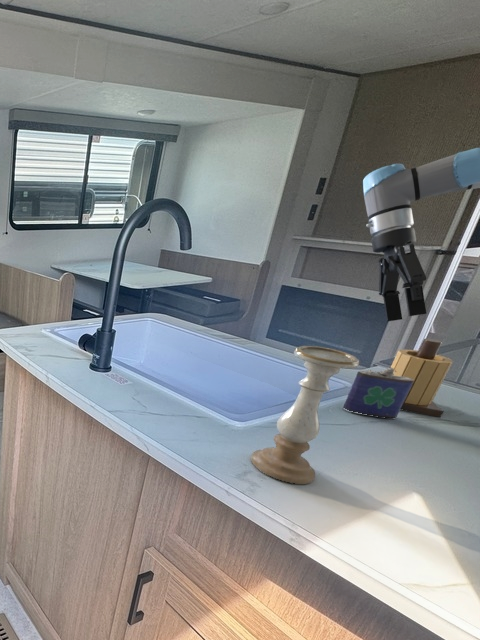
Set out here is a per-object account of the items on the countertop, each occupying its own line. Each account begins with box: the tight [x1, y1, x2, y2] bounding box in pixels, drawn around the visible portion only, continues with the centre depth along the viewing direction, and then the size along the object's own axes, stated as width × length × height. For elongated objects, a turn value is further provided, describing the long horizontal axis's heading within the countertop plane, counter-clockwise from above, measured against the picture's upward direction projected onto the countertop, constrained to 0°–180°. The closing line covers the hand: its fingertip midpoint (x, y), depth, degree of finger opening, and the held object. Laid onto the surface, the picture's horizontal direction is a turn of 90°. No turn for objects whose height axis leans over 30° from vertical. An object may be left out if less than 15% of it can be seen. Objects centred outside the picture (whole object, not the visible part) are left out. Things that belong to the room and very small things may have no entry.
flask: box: [342, 366, 414, 419], centre depth 89 cm, size 9×3×11 cm, turn 68°
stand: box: [400, 338, 444, 418], centre depth 94 cm, size 10×10×15 cm
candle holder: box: [250, 345, 360, 485], centre depth 66 cm, size 9×9×20 cm
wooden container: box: [390, 349, 454, 405], centre depth 95 cm, size 8×8×10 cm
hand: (405, 318), depth 103 cm, fingers open, 13 cm apart
